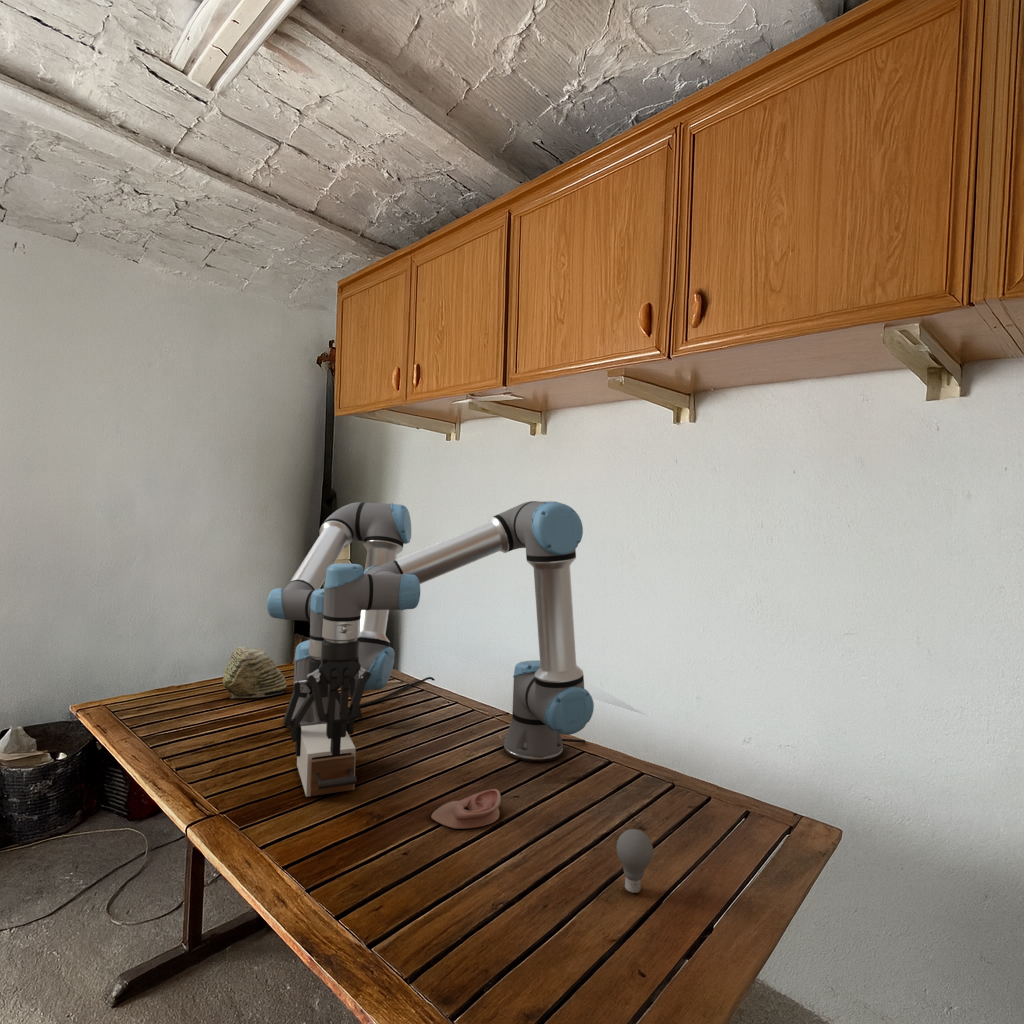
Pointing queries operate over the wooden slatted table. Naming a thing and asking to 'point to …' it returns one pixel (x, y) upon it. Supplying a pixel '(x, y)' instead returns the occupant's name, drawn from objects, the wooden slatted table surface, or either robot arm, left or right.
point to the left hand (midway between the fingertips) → (322, 751)
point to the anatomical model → (470, 811)
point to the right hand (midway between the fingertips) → (335, 752)
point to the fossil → (252, 674)
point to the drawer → (332, 774)
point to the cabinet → (318, 750)
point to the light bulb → (634, 857)
